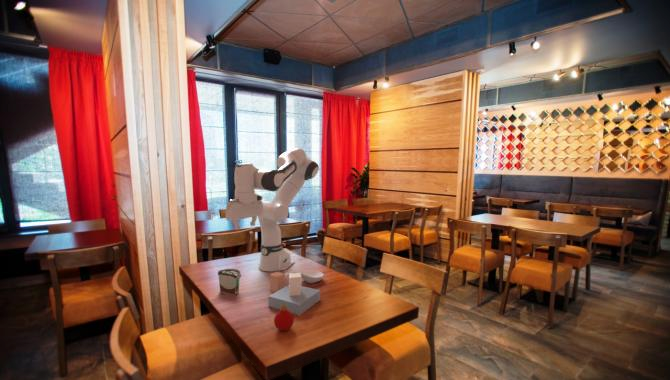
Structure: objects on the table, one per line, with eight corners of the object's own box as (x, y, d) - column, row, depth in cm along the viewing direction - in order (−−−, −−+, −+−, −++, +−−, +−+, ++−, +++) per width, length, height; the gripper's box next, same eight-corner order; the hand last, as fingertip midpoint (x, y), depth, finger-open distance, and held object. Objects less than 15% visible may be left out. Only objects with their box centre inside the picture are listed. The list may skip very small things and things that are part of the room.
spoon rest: (317, 275, 164) (317, 262, 164) (327, 282, 154) (327, 269, 154) (276, 283, 152) (276, 270, 151) (285, 292, 142) (284, 277, 141)
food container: (247, 291, 142) (246, 270, 141) (237, 296, 137) (237, 275, 136) (227, 286, 147) (227, 266, 146) (217, 291, 142) (217, 270, 141)
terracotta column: (277, 287, 147) (277, 271, 146) (284, 289, 144) (284, 273, 144) (269, 290, 143) (269, 274, 142) (277, 293, 140) (277, 276, 139)
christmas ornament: (273, 325, 112) (273, 299, 111) (292, 323, 114) (292, 298, 113) (274, 335, 105) (274, 308, 104) (294, 333, 107) (294, 306, 106)
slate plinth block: (291, 293, 141) (291, 283, 141) (320, 301, 134) (320, 290, 133) (268, 307, 127) (268, 296, 127) (299, 316, 120) (299, 304, 119)
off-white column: (289, 290, 132) (289, 273, 131) (300, 290, 133) (300, 272, 132) (289, 295, 127) (289, 277, 126) (301, 295, 128) (301, 276, 127)
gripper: (232, 200, 127) (232, 232, 128) (264, 196, 145) (265, 224, 146) (221, 199, 130) (222, 230, 131) (255, 195, 148) (255, 223, 149)
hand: (245, 227), depth 139 cm, fingers open, 8 cm apart
